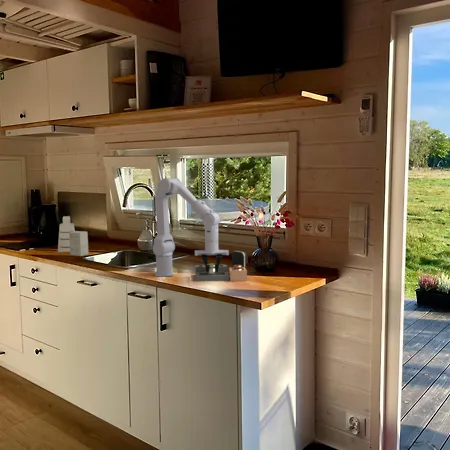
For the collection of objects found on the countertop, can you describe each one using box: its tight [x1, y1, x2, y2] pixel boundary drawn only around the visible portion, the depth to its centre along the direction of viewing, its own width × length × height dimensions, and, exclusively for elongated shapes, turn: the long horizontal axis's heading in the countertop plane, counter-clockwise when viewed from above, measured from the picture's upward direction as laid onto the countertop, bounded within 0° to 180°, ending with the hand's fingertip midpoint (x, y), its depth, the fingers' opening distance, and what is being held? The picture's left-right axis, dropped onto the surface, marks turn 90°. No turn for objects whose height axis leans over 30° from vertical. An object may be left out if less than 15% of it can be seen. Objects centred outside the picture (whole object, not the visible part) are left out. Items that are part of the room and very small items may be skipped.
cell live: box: [208, 263, 216, 275], centre depth 213 cm, size 4×4×6 cm
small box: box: [69, 230, 89, 257], centre depth 276 cm, size 8×6×13 cm
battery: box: [231, 250, 249, 269], centre depth 219 cm, size 7×4×11 cm, turn 47°
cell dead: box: [233, 265, 242, 270], centre depth 211 cm, size 4×4×6 cm
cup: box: [228, 267, 248, 282], centre depth 212 cm, size 7×7×5 cm
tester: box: [194, 263, 230, 282], centre depth 214 cm, size 13×14×6 cm
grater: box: [57, 215, 76, 253], centre depth 291 cm, size 10×10×20 cm
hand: (211, 271), depth 213 cm, fingers closed on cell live, 4 cm apart
